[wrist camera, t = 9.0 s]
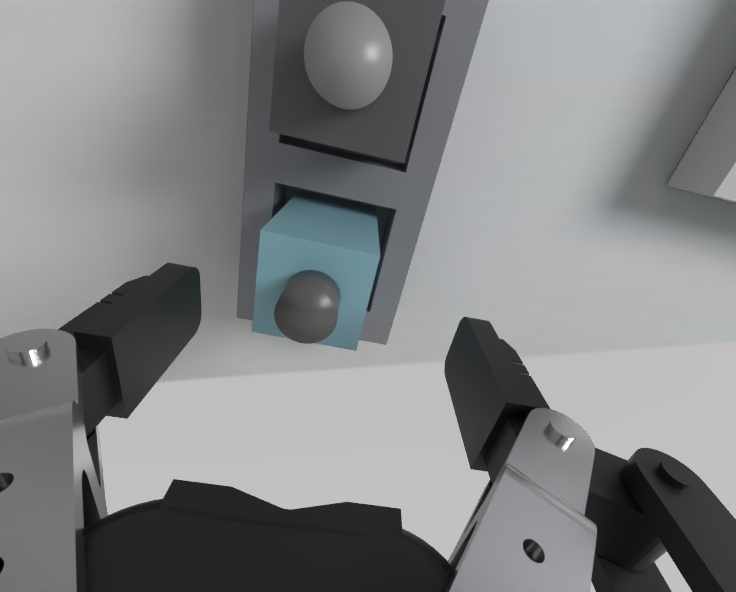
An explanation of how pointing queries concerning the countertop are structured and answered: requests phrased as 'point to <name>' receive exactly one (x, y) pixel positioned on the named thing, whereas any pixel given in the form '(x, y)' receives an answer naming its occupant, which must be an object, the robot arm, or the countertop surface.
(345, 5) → the dark grey knobbed block
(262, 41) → the grey socket holder
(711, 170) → the tray
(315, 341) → the teal plug
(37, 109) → the countertop surface
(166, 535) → the robot arm
